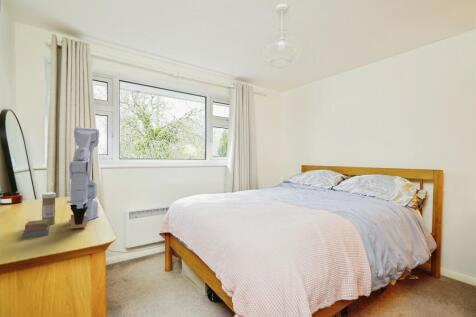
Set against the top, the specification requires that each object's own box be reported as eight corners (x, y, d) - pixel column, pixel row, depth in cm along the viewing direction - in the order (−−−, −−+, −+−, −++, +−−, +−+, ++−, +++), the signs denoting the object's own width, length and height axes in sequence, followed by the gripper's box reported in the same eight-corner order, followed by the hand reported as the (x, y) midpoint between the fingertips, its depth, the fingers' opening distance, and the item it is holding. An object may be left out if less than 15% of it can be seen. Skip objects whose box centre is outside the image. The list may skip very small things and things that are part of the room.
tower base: (25, 234, 86) (25, 228, 86) (49, 231, 90) (49, 225, 90) (22, 240, 81) (22, 233, 81) (48, 236, 85) (48, 229, 85)
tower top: (28, 227, 86) (28, 221, 87) (48, 225, 90) (49, 219, 90) (24, 232, 81) (25, 225, 82) (46, 229, 85) (46, 222, 85)
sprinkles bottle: (55, 222, 101) (56, 192, 101) (53, 224, 97) (54, 193, 97) (42, 223, 99) (43, 192, 99) (39, 226, 95) (40, 194, 95)
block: (70, 225, 94) (70, 214, 94) (85, 223, 97) (85, 213, 97) (70, 228, 90) (71, 217, 90) (86, 226, 93) (86, 215, 93)
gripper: (66, 188, 97) (65, 220, 97) (67, 192, 85) (66, 228, 85) (86, 187, 101) (85, 217, 101) (89, 191, 90) (88, 225, 90)
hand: (78, 222), depth 93 cm, fingers closed on block, 5 cm apart
